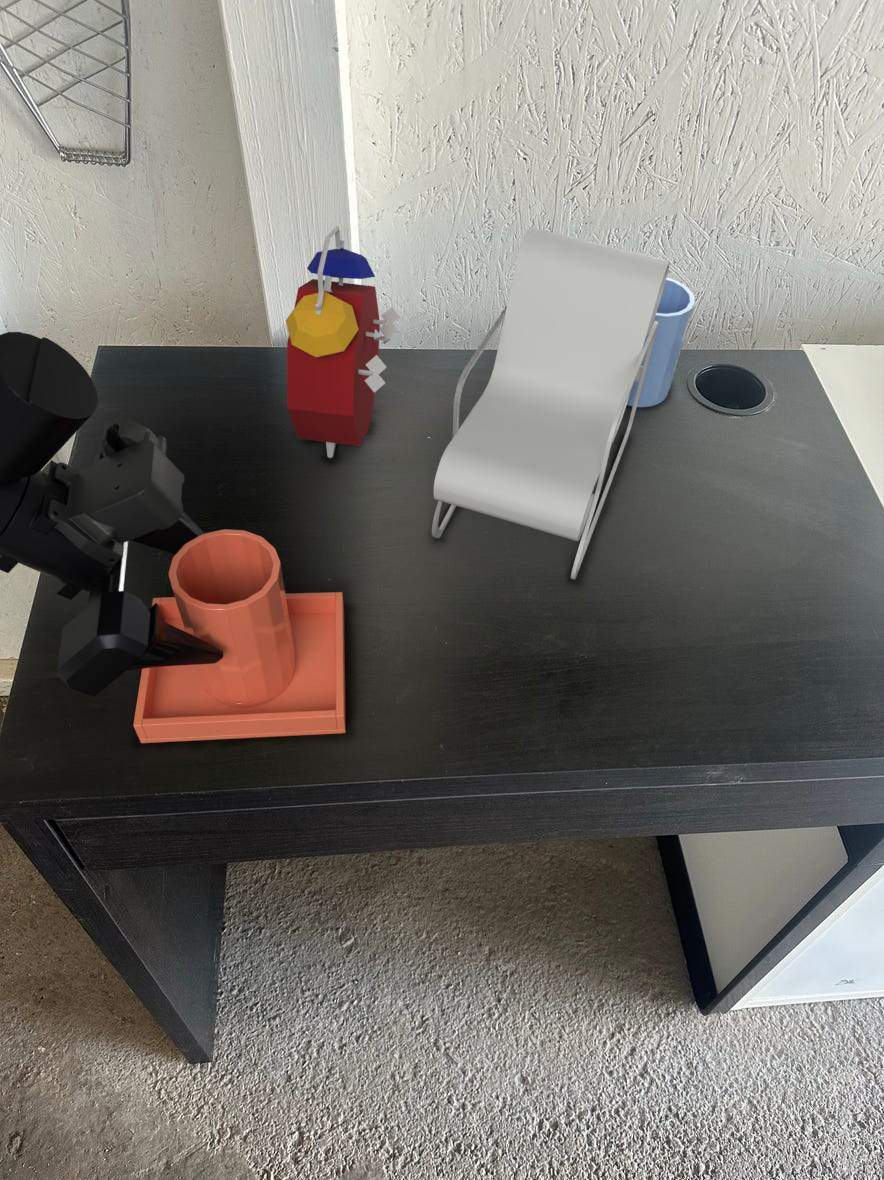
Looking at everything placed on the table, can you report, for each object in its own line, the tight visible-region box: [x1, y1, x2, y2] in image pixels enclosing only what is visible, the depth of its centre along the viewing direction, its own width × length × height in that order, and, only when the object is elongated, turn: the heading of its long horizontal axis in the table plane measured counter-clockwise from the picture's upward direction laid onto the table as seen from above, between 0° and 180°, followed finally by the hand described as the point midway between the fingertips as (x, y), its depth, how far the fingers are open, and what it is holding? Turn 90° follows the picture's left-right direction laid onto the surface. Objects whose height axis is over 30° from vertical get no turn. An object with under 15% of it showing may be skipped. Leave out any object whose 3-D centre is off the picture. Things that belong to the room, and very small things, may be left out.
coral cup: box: [167, 528, 296, 708], centre depth 66 cm, size 7×7×12 cm
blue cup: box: [626, 277, 696, 408], centre depth 93 cm, size 7×7×11 cm
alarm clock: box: [285, 225, 401, 459], centre depth 82 cm, size 15×9×20 cm, turn 174°
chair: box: [431, 226, 671, 580], centre depth 79 cm, size 13×25×20 cm, turn 161°
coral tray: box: [132, 591, 347, 744], centre depth 70 cm, size 15×12×2 cm
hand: (220, 607), depth 64 cm, fingers open, 9 cm apart
